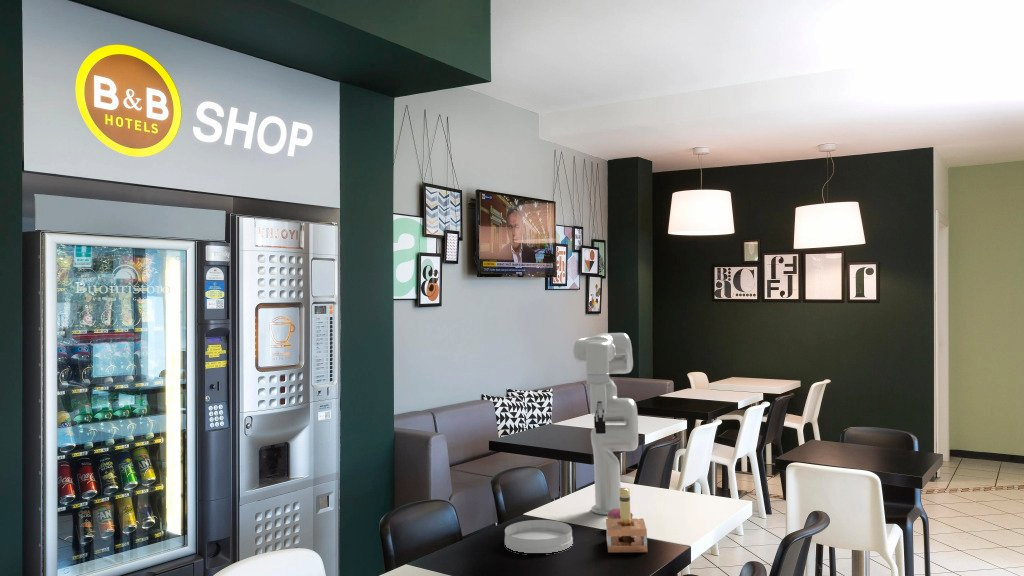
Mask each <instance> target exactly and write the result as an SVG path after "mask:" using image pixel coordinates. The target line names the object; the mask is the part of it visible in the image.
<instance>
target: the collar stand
mask: <svg viewBox="0 0 1024 576" xmlns="http://www.w3.org/2000/svg"><path fill="white" fill-rule="evenodd" d="M605 525H606V526H605V528H606V529H605V530H606V546H607V553H648V532H647V531H648V530H647V529H648V528H647V525H646V523H645V520H644V518H632V519H631V526H621V521H620V519H608V518H606V519H605ZM621 536H631V542H621Z"/></svg>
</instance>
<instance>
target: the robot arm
mask: <svg viewBox="0 0 1024 576" xmlns="http://www.w3.org/2000/svg"><path fill="white" fill-rule="evenodd" d="M631 342H632V341H631V339H630V337H629V335H628V334H627V333H625V332H608V333H607V332H605V333H601V332H600V333H598V334H597V335H593V336H590V337H583V338H578V339H576V341H575V342H574V344H573V350H572V351H573V357H574V359H575V361H576V362H579V363H585V364H586V365H585V368H586V369H585V370H586V385H589V401H590V402H589V403H590V404H589V405H590V406H589V407H590V414H591V415H594V416H593V422H594V423H593V424H594V427H593V428H592V429H591V431H590V441H591V446H592V453H593V466H594V467H593V470H594V471H593V472H594V499H595V500H594V502H595V503H594V505H592V506H591V512H592V513H594V514H597V515H604V516H605V515H606V516H607V515H608V513H609V511H611V510H612V509H616V508H620V493H619V489H620V488H622V487H621V486H622V485H621V484H622V483H621V464H620V460H619V459H618V458H617V456H616V455H615V454H614V452H634V451H636V450H637V449H638V447H639V420H638V419H639V417H638V416H639V415H638V406H637V403H636V401H635V400H634V399H633V398H630V397H618V387H617V385H616V384H615V382H614V381H613V380H612V379H611V378H610V375H613V374H614V375H617V374H620V375H623V374H624V375H625V374H629V373H631V372H632V370H633V367H634V359H633V347H632V343H631Z"/></svg>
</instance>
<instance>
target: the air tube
mask: <svg viewBox="0 0 1024 576" xmlns="http://www.w3.org/2000/svg"><path fill="white" fill-rule="evenodd" d="M619 493H620V521H621V526H631V515H630V512H631V495H630V488H629V487H621V488H620V489H619ZM621 542H631V536H621Z"/></svg>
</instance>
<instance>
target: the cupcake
mask: <svg viewBox="0 0 1024 576" xmlns="http://www.w3.org/2000/svg"><path fill="white" fill-rule="evenodd" d="M630 515H631V519H633V516H634V514H633V513H632V511H630ZM606 519H620V508H616V509H612V510H611V511H609V513H608V515H606Z"/></svg>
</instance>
